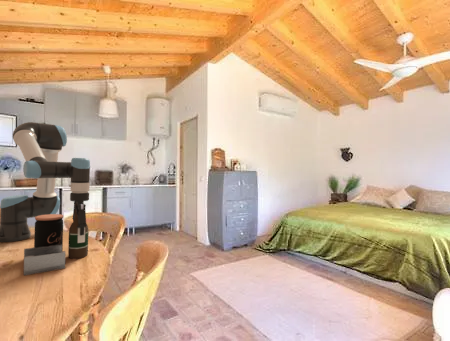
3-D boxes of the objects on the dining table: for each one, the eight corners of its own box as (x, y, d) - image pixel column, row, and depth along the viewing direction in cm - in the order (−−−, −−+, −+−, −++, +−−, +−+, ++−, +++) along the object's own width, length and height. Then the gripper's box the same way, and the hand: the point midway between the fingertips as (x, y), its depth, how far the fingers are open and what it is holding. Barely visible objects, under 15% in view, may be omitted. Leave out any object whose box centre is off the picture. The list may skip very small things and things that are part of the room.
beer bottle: (66, 259, 113) (68, 204, 113) (69, 254, 120) (70, 202, 120) (87, 258, 116) (88, 204, 116) (88, 252, 123) (89, 202, 123)
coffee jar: (48, 261, 111) (49, 219, 111) (27, 258, 113) (28, 217, 113) (68, 253, 121) (69, 214, 121) (48, 251, 123) (49, 213, 123)
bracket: (23, 264, 106) (24, 248, 106) (61, 258, 114) (61, 244, 114) (23, 275, 96) (24, 257, 96) (64, 268, 104) (65, 251, 104)
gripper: (66, 190, 126) (65, 234, 126) (74, 194, 106) (73, 247, 106) (84, 189, 130) (82, 232, 130) (94, 194, 111) (93, 244, 111)
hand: (78, 238), depth 118 cm, fingers open, 13 cm apart
